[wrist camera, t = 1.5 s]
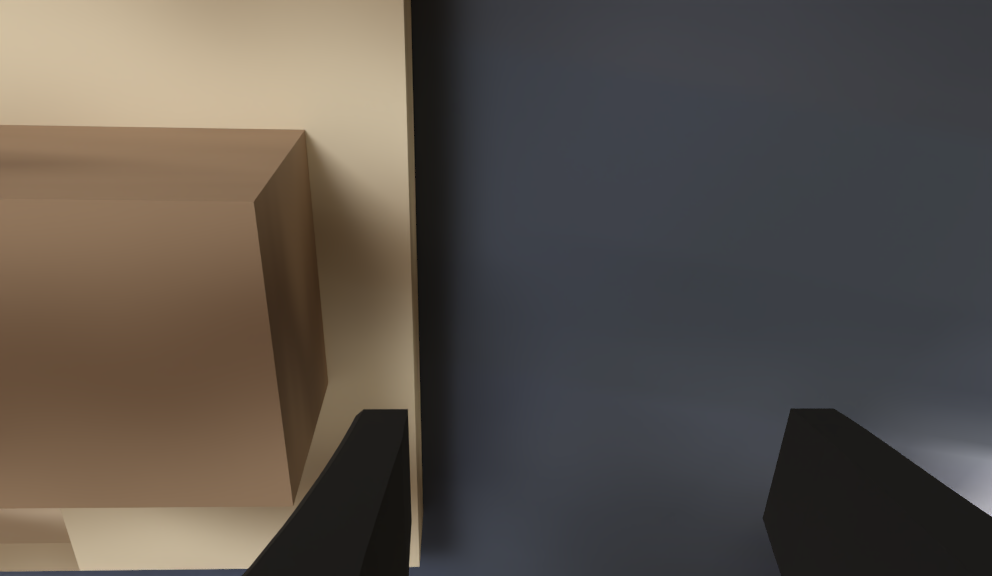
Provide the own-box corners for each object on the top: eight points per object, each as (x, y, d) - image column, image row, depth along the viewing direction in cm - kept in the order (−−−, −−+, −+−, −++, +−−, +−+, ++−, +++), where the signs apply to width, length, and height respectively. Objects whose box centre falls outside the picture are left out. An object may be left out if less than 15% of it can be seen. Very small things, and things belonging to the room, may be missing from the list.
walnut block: (328, 383, 17) (293, 506, 14) (64, 383, 17) (-41, 508, 13) (305, 129, 15) (253, 201, 11) (-10, 124, 14) (-168, 196, 11)
